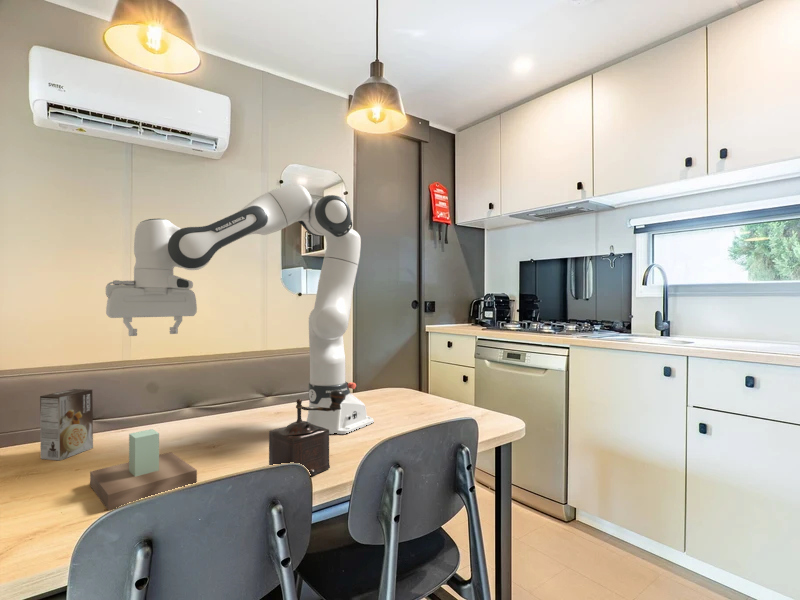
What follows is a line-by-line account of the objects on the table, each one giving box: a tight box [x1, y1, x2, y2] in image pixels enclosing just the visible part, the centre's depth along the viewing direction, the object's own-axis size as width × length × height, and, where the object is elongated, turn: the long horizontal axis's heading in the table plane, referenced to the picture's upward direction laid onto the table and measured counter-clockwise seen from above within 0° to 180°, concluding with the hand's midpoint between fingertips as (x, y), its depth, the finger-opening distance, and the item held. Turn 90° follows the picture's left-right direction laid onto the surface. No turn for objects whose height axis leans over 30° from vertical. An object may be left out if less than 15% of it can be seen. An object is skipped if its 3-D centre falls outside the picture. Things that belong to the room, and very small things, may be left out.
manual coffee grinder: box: [268, 390, 346, 477], centre depth 99 cm, size 16×11×18 cm
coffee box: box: [39, 388, 94, 461], centre depth 108 cm, size 9×6×16 cm
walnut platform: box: [89, 451, 198, 512], centre depth 89 cm, size 16×16×3 cm
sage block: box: [128, 428, 160, 477], centre depth 89 cm, size 4×4×8 cm
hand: (153, 334), depth 107 cm, fingers open, 8 cm apart
